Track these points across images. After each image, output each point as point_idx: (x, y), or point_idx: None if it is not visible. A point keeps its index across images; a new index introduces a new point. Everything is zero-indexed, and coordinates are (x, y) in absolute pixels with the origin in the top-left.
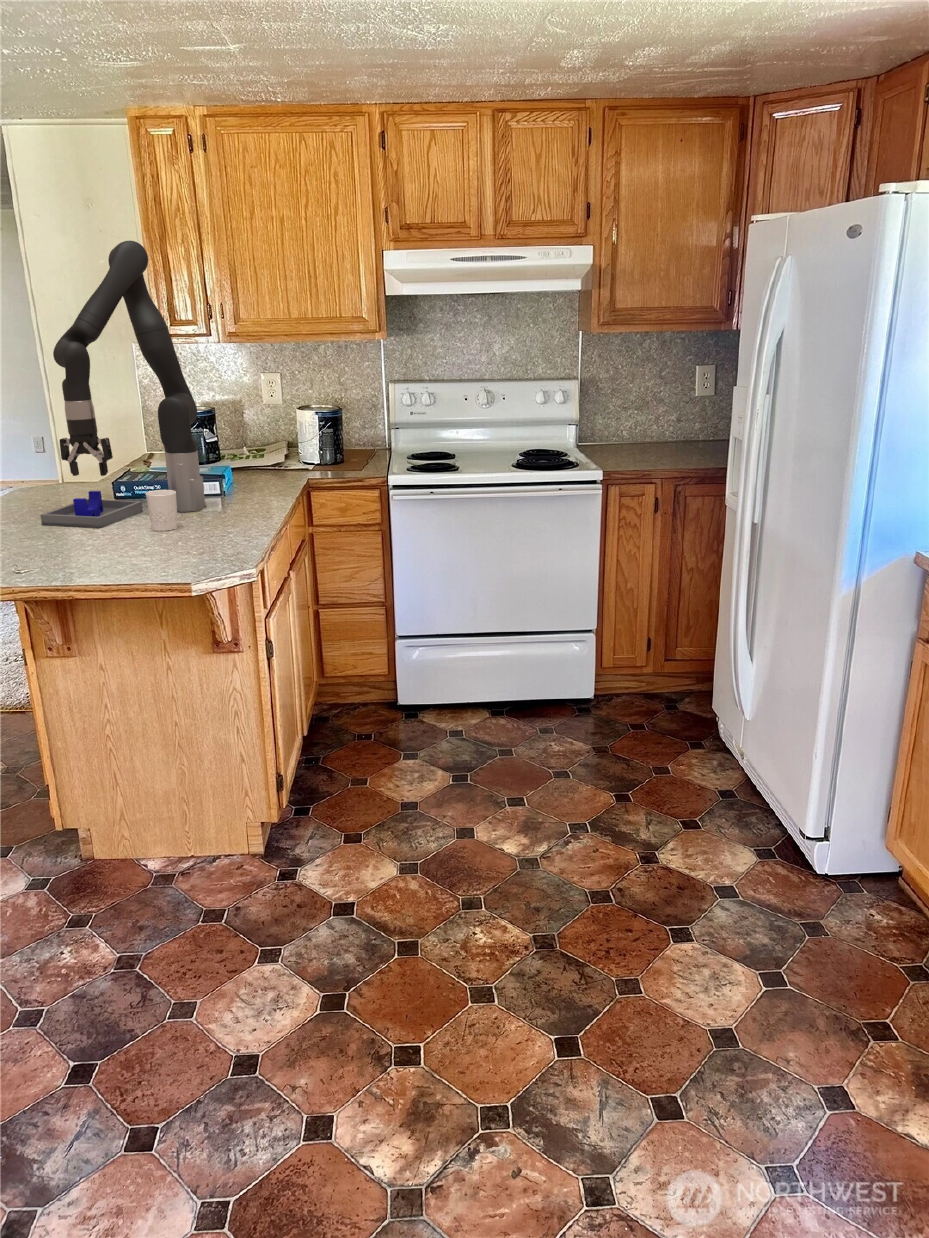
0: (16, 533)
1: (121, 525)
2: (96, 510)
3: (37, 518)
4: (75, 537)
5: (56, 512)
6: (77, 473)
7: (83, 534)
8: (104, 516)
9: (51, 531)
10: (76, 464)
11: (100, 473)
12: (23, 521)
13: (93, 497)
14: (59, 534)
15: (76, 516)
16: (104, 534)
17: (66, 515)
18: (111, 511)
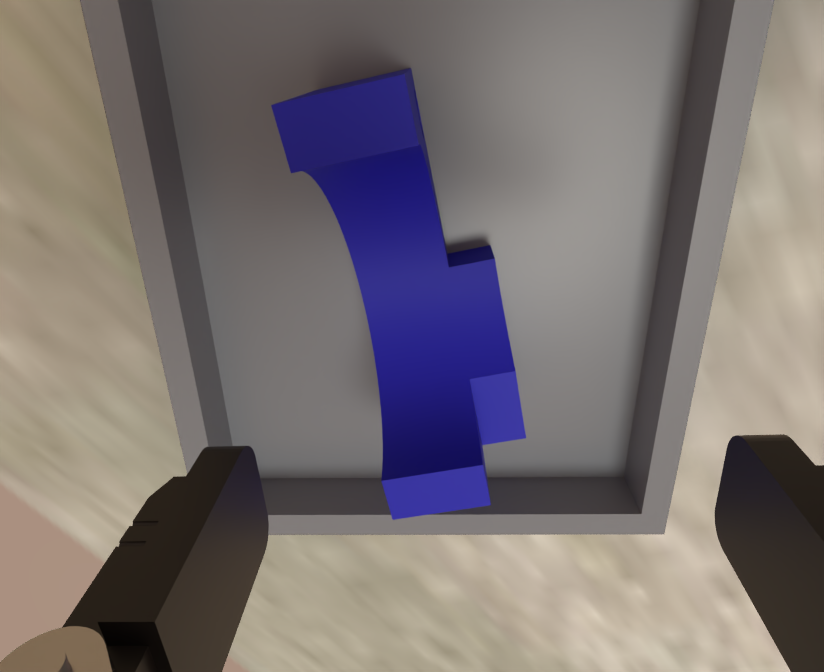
0: (239, 637)
1: (743, 385)
2: (506, 325)
3: (28, 336)
4: (593, 644)
5: (206, 403)
6: (248, 488)
7: (603, 596)
8: (673, 477)
9: (387, 579)
10: (191, 609)
11: (735, 564)
12: (24, 426)
13: (358, 161)
14: (473, 616)
15: (483, 532)
16: (723, 577)
17: (395, 523)
18: (493, 58)
